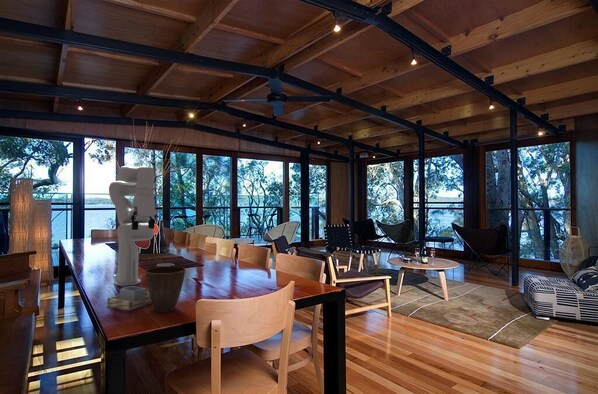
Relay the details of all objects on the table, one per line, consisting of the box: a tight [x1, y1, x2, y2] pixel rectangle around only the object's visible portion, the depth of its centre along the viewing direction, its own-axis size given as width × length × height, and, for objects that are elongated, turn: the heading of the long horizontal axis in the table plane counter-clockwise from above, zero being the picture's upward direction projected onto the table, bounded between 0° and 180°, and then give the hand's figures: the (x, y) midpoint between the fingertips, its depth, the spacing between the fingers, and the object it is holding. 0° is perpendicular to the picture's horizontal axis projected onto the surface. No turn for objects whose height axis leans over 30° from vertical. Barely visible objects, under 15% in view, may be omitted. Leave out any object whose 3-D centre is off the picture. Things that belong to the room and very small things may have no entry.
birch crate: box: [106, 292, 153, 312], centre depth 141 cm, size 12×13×4 cm
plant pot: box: [145, 266, 186, 313], centre depth 135 cm, size 15×15×16 cm
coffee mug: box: [149, 262, 175, 269], centre depth 178 cm, size 12×9×10 cm
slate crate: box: [118, 285, 147, 306], centre depth 141 cm, size 8×6×6 cm
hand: (143, 229), depth 158 cm, fingers open, 9 cm apart
